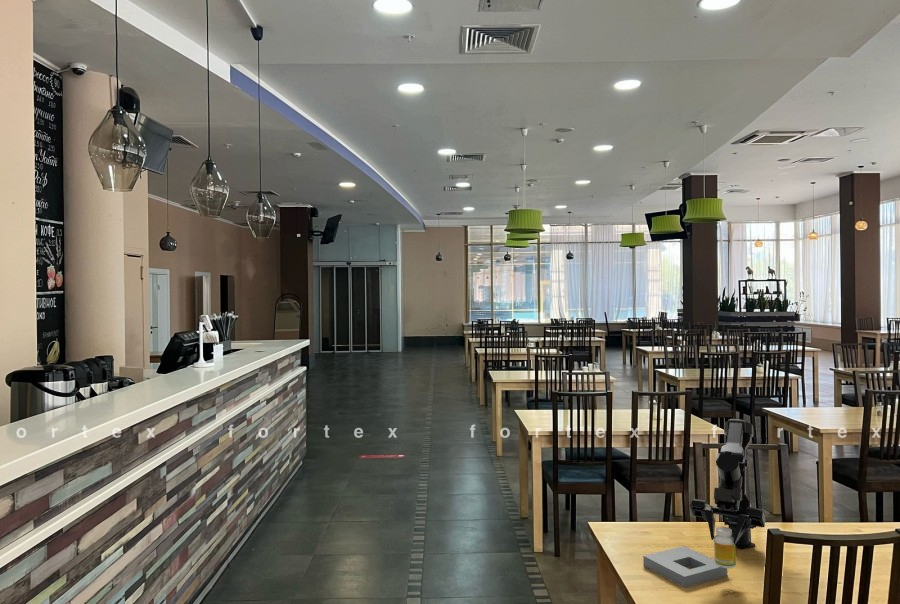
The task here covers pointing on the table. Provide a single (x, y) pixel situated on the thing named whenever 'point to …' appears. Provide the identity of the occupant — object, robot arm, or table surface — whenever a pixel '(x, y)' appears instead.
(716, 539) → the supplement bottle
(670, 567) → the holder
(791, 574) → the table surface
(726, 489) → the robot arm
